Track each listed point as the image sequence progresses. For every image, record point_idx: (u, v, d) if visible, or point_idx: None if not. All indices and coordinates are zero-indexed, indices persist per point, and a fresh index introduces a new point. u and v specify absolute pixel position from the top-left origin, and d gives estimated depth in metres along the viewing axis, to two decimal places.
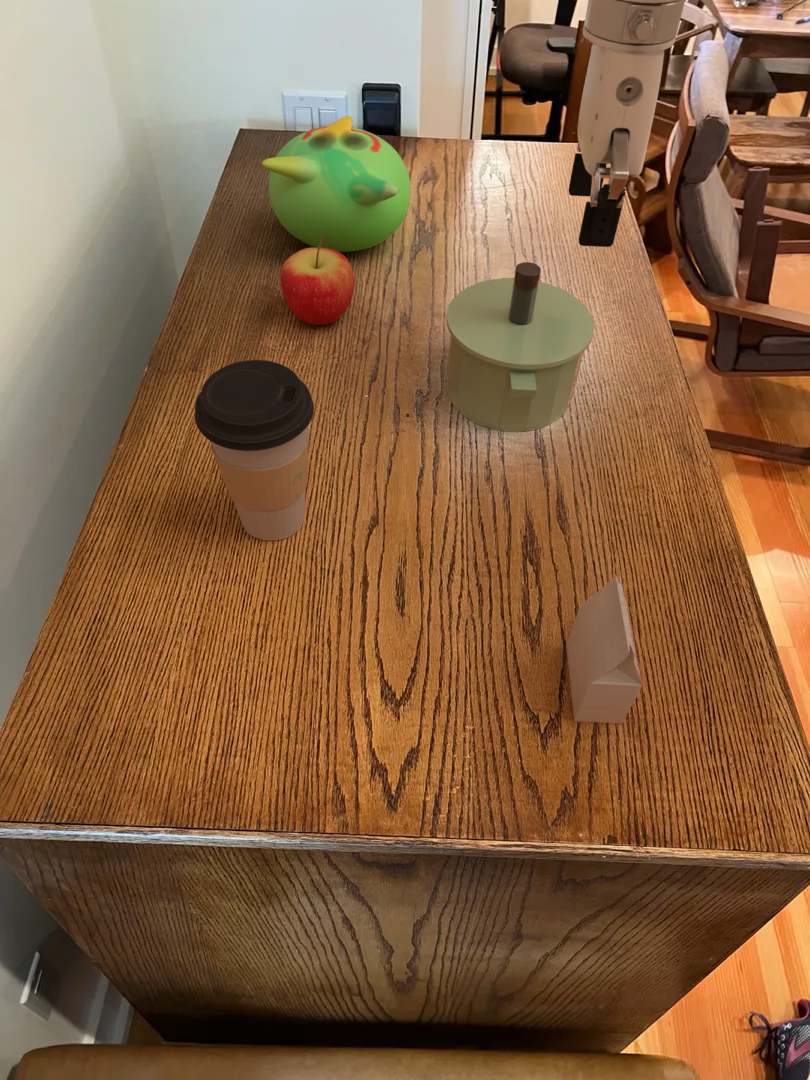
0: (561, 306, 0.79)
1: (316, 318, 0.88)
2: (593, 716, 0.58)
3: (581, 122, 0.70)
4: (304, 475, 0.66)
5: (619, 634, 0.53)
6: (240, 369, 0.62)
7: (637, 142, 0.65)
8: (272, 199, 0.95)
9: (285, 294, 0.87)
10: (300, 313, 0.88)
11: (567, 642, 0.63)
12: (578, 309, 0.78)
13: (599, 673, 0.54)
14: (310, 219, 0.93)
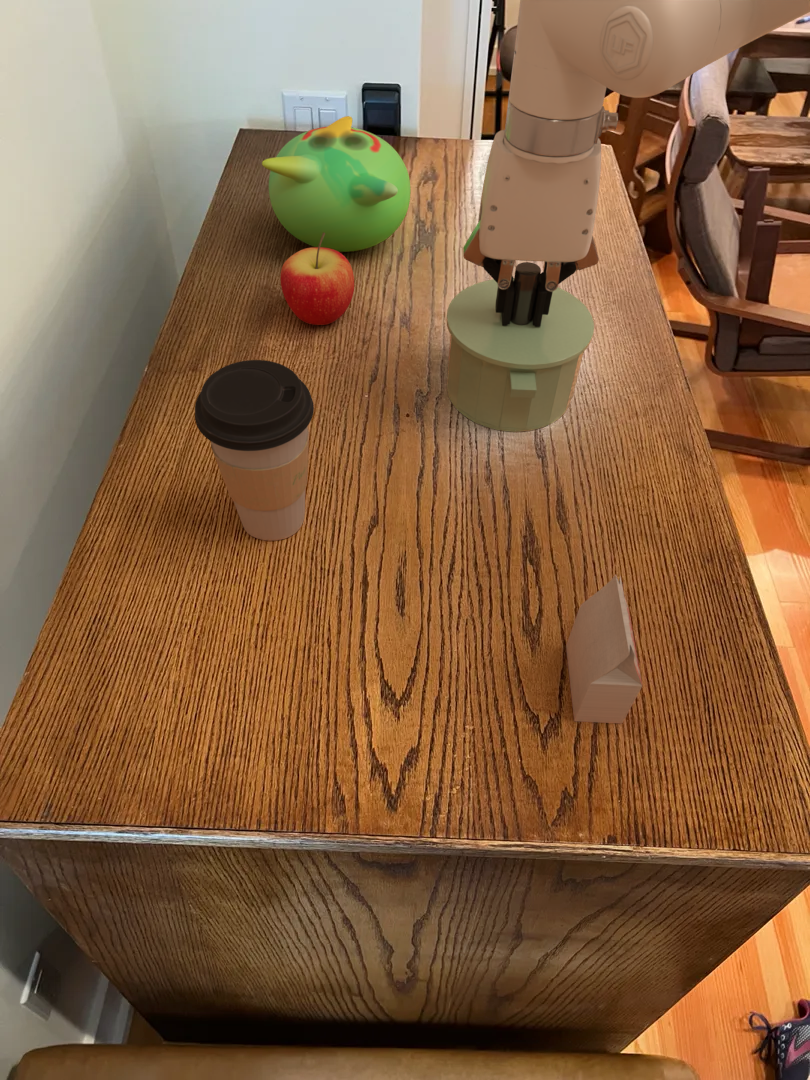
0: (561, 306, 0.79)
1: (316, 318, 0.88)
2: (593, 716, 0.58)
3: (524, 238, 0.68)
4: (304, 475, 0.66)
5: (619, 634, 0.53)
6: (240, 369, 0.62)
7: None
8: (272, 199, 0.95)
9: (285, 294, 0.87)
10: (300, 313, 0.88)
11: (567, 642, 0.63)
12: (578, 309, 0.78)
13: (599, 673, 0.54)
14: (310, 219, 0.93)
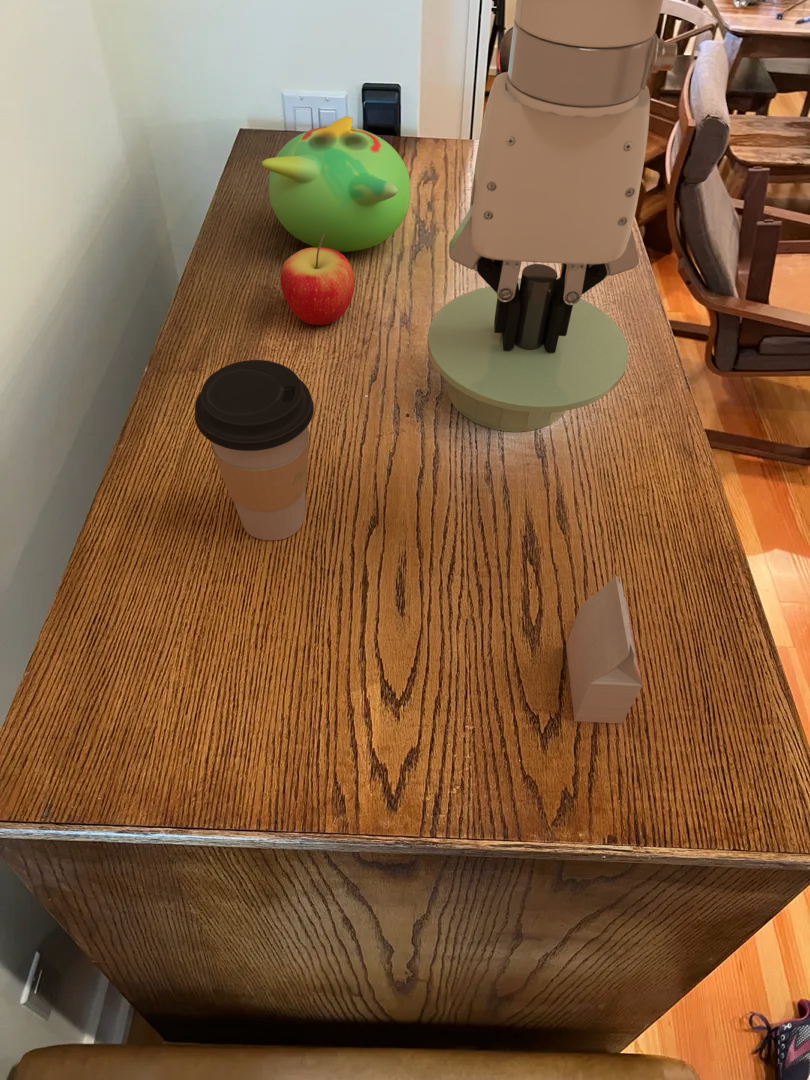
0: (583, 323, 0.58)
1: (316, 318, 0.88)
2: (593, 716, 0.58)
3: (536, 231, 0.48)
4: (304, 475, 0.66)
5: (619, 634, 0.53)
6: (240, 369, 0.62)
7: None
8: (272, 199, 0.95)
9: (285, 294, 0.87)
10: (300, 313, 0.88)
11: (567, 642, 0.63)
12: (605, 328, 0.58)
13: (599, 673, 0.54)
14: (310, 219, 0.93)
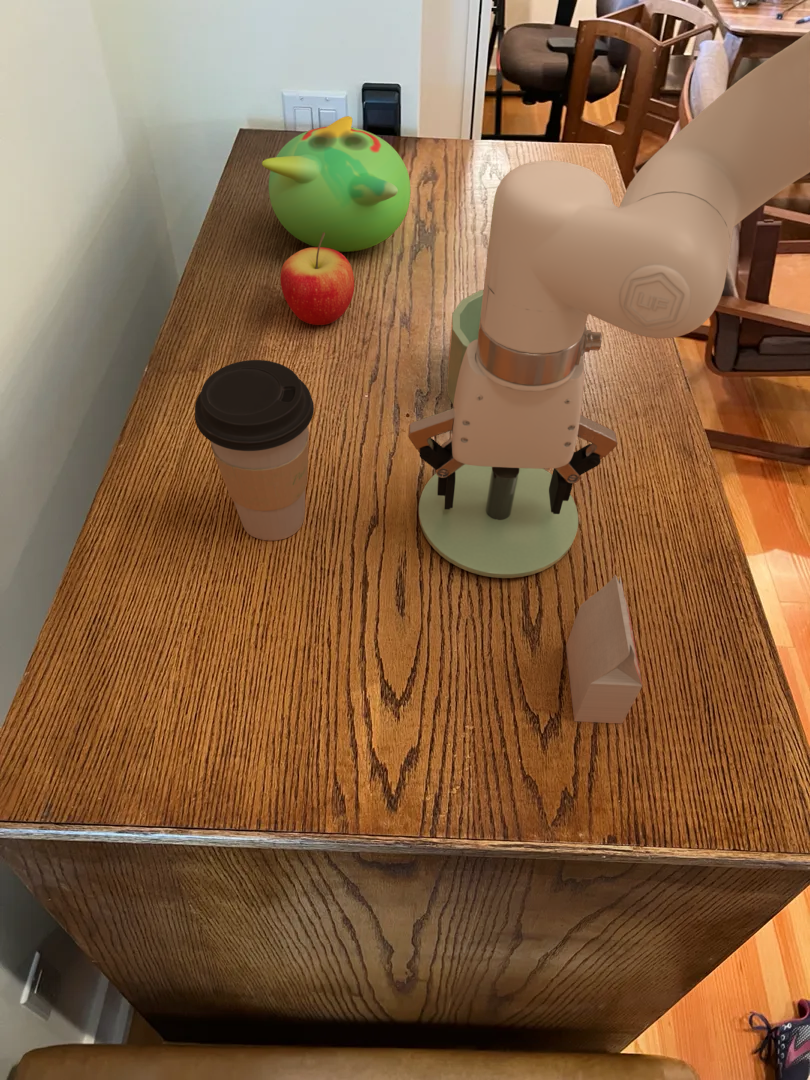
0: (543, 493, 0.73)
1: (316, 318, 0.88)
2: (593, 716, 0.58)
3: (501, 450, 0.62)
4: (304, 475, 0.66)
5: (619, 634, 0.53)
6: (240, 369, 0.62)
7: None
8: (272, 199, 0.95)
9: (285, 294, 0.87)
10: (300, 313, 0.88)
11: (567, 642, 0.63)
12: None
13: (599, 673, 0.54)
14: (310, 219, 0.93)
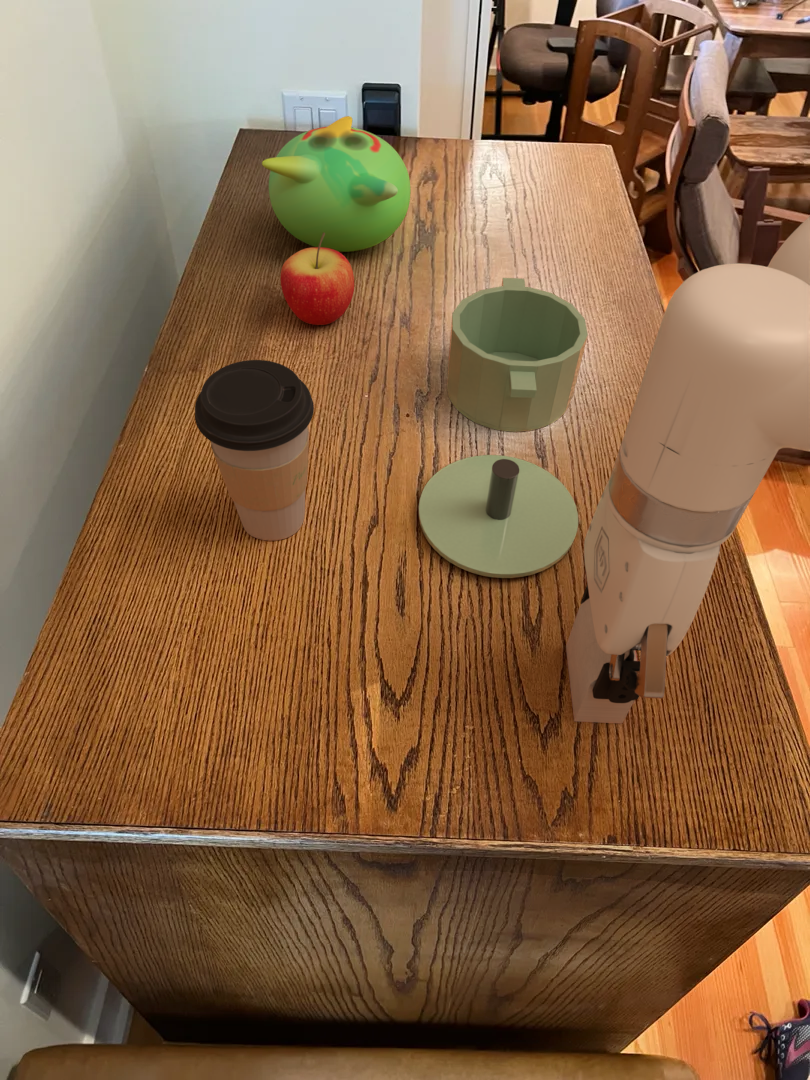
0: (543, 493, 0.73)
1: (316, 318, 0.88)
2: (593, 716, 0.58)
3: None
4: (304, 475, 0.66)
5: None
6: (240, 369, 0.62)
7: None
8: (272, 199, 0.95)
9: (285, 294, 0.87)
10: (300, 313, 0.88)
11: (567, 642, 0.63)
12: (561, 498, 0.72)
13: (599, 673, 0.54)
14: (310, 219, 0.93)
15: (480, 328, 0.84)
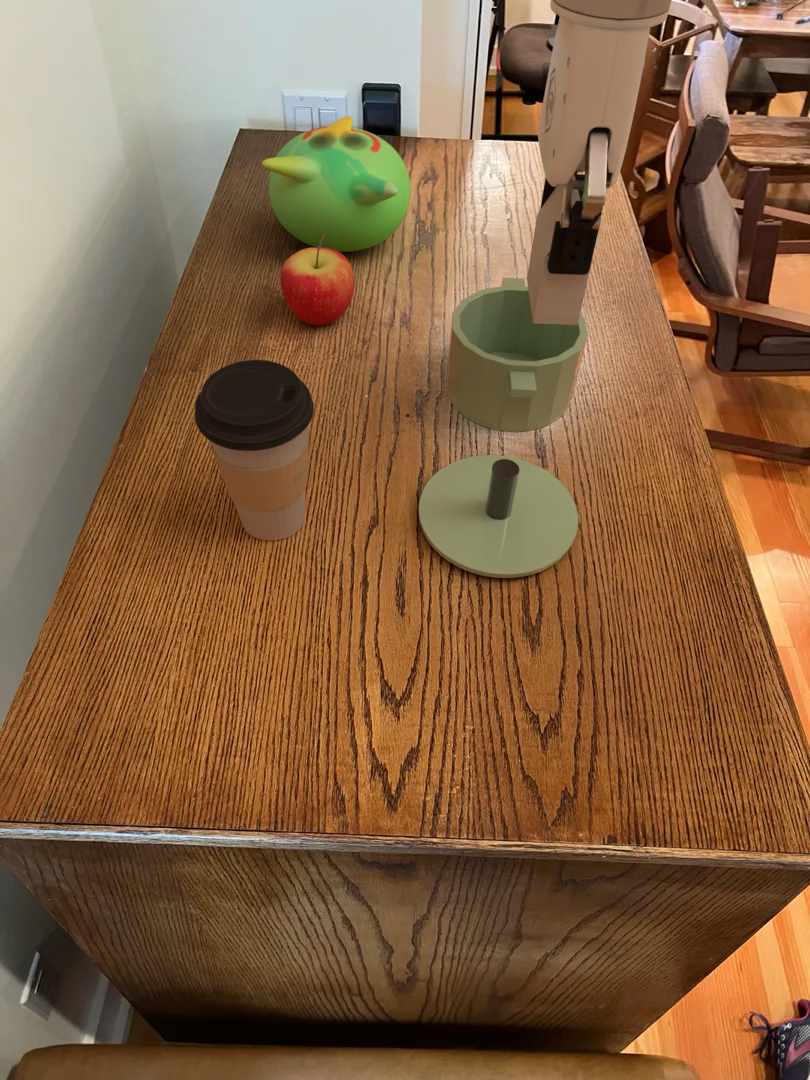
0: (543, 493, 0.73)
1: (316, 318, 0.88)
2: (550, 313, 0.63)
3: None
4: (304, 475, 0.66)
5: None
6: (240, 369, 0.62)
7: None
8: (272, 199, 0.95)
9: (285, 294, 0.87)
10: (300, 313, 0.88)
11: (528, 272, 0.68)
12: (561, 498, 0.72)
13: None
14: (310, 219, 0.93)
15: (480, 328, 0.84)
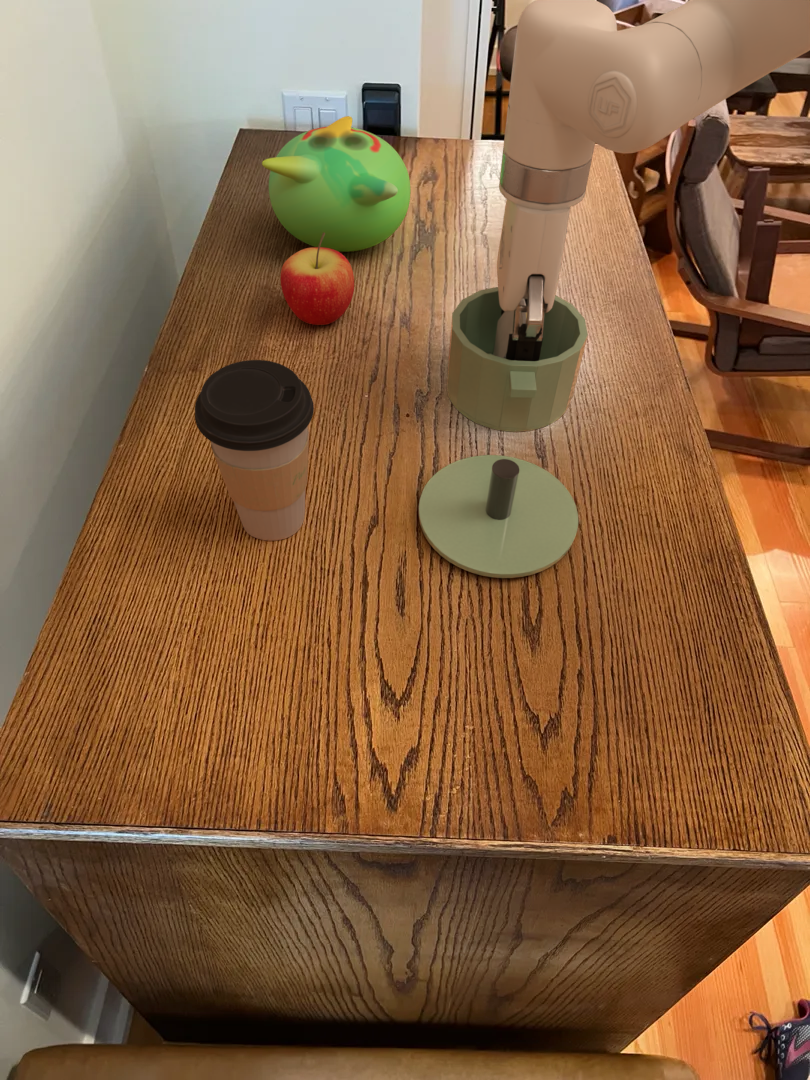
0: (543, 493, 0.73)
1: (316, 318, 0.88)
2: None
3: None
4: (304, 475, 0.66)
5: None
6: (240, 369, 0.62)
7: None
8: (272, 199, 0.95)
9: (285, 294, 0.87)
10: (300, 313, 0.88)
11: None
12: (561, 498, 0.72)
13: (506, 351, 0.76)
14: (310, 219, 0.93)
15: (480, 328, 0.84)
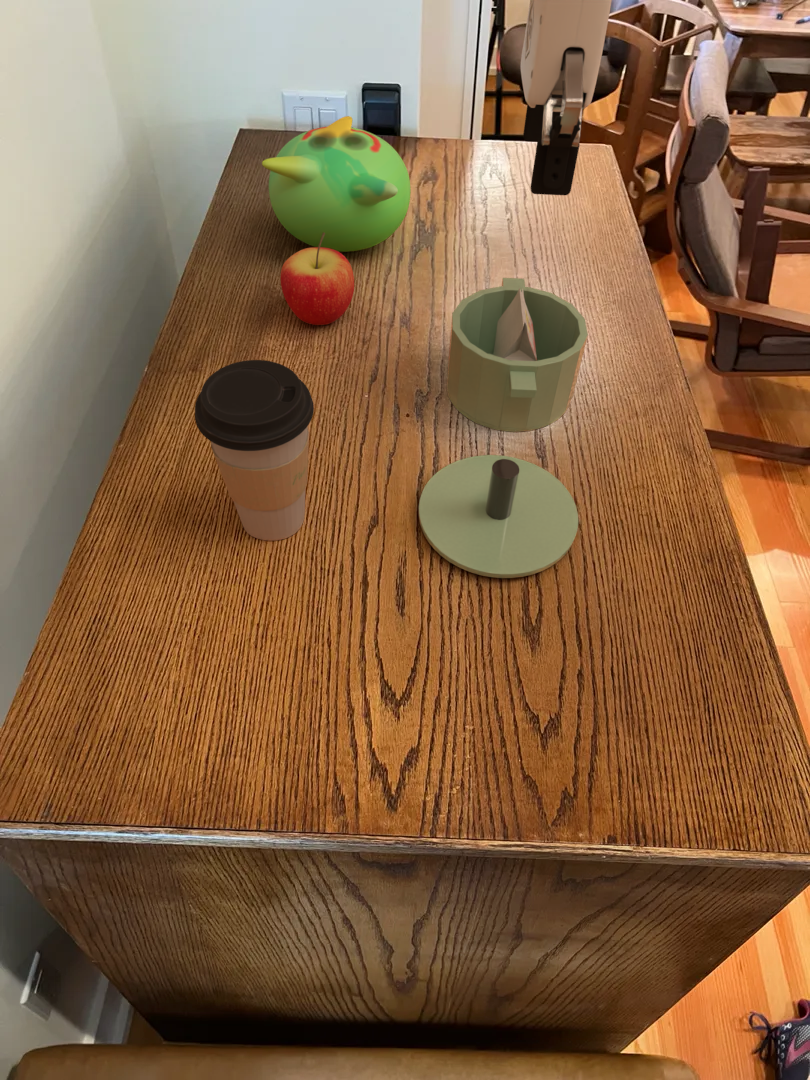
0: (543, 493, 0.73)
1: (316, 318, 0.88)
2: None
3: None
4: (304, 475, 0.66)
5: (519, 321, 0.76)
6: (240, 369, 0.62)
7: None
8: (272, 199, 0.95)
9: (285, 294, 0.87)
10: (300, 313, 0.88)
11: None
12: (561, 498, 0.72)
13: (506, 351, 0.76)
14: (310, 219, 0.93)
15: (480, 328, 0.84)
